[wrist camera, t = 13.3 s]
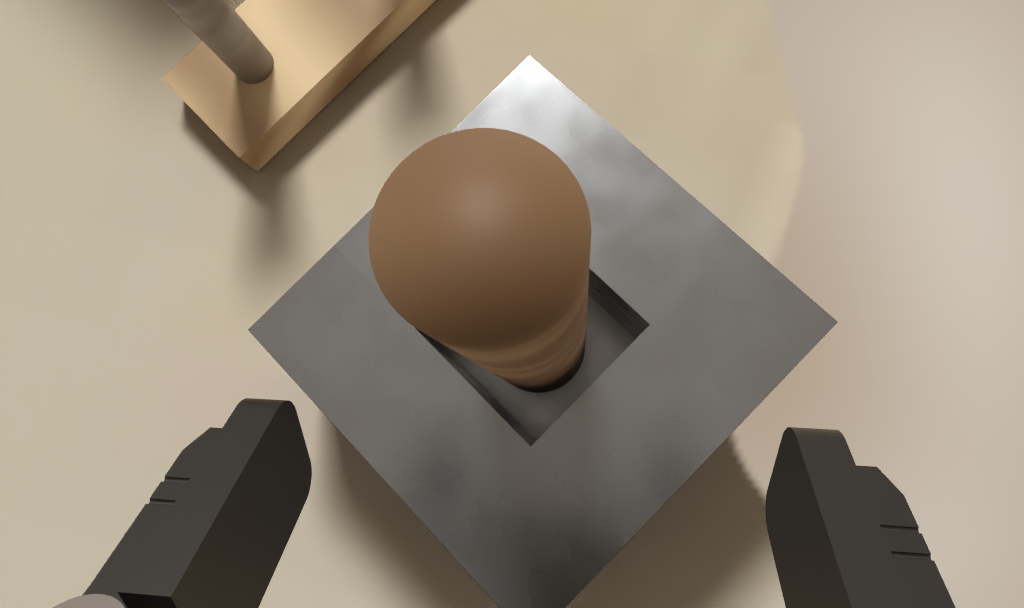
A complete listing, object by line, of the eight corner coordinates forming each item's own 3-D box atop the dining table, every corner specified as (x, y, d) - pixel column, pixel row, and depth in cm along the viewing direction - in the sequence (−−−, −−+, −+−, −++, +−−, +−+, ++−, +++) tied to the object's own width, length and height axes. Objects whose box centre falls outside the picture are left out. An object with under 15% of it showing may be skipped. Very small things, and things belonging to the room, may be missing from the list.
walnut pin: (538, 412, 23) (476, 394, 9) (473, 346, 24) (324, 238, 10) (604, 345, 23) (639, 229, 9) (537, 282, 24) (478, 85, 10)
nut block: (543, 588, 24) (531, 642, 18) (322, 351, 26) (248, 329, 20) (775, 346, 24) (837, 322, 19) (540, 136, 27) (529, 54, 21)
